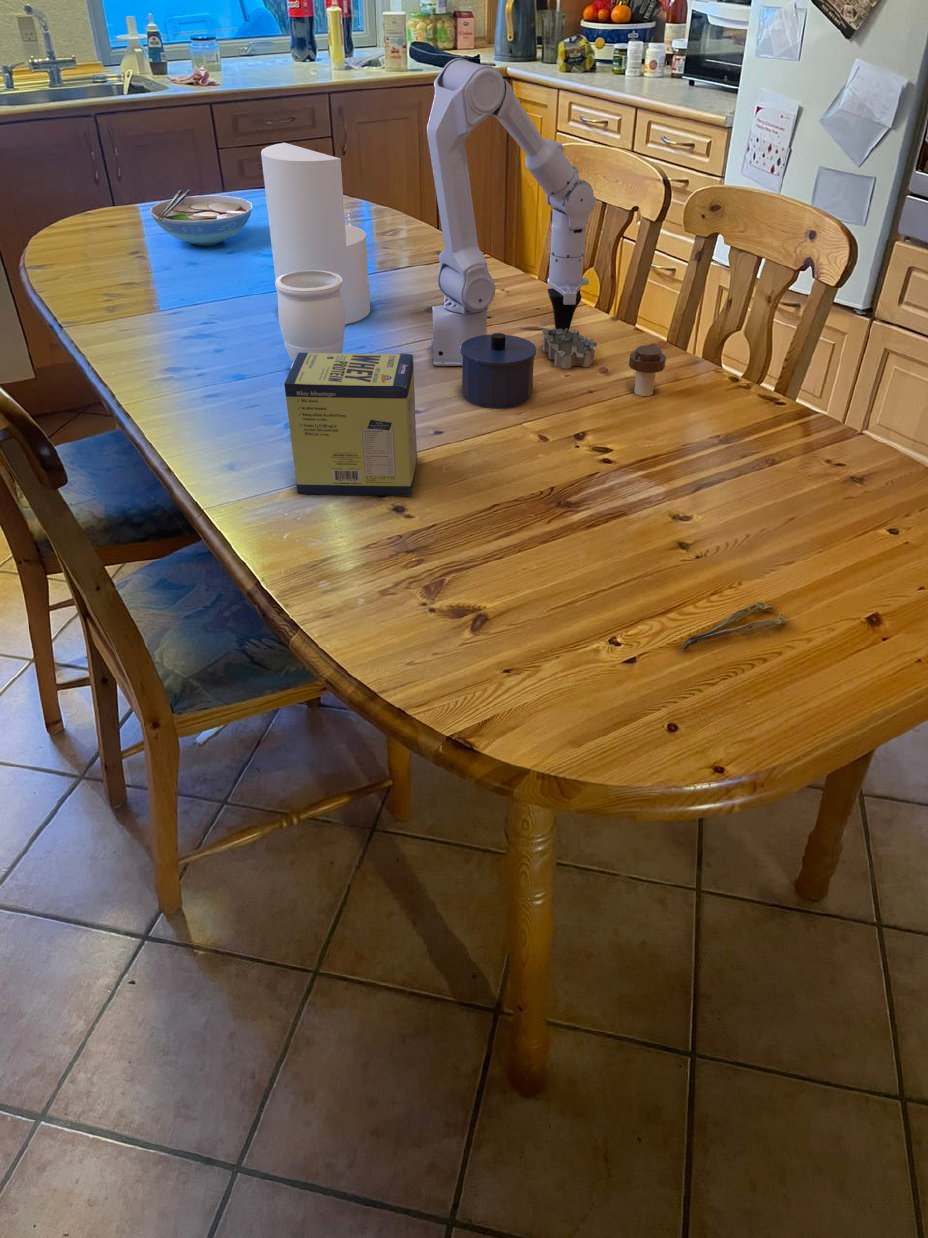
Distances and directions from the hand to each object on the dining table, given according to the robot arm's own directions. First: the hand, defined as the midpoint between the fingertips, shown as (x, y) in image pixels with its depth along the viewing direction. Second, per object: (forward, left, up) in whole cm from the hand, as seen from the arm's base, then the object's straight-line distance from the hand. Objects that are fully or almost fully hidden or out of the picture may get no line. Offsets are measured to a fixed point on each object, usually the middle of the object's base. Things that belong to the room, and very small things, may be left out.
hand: (561, 331), depth 169 cm
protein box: (-33, -50, -2) cm, 60 cm away
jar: (-42, -13, -2) cm, 45 cm away
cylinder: (-43, +16, -2) cm, 46 cm away
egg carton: (0, -8, -2) cm, 8 cm away
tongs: (+9, -86, -2) cm, 87 cm away
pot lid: (-13, -23, +6) cm, 27 cm away
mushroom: (+11, -23, -1) cm, 26 cm away
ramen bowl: (-74, +63, -2) cm, 97 cm away
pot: (-13, -23, -1) cm, 27 cm away
